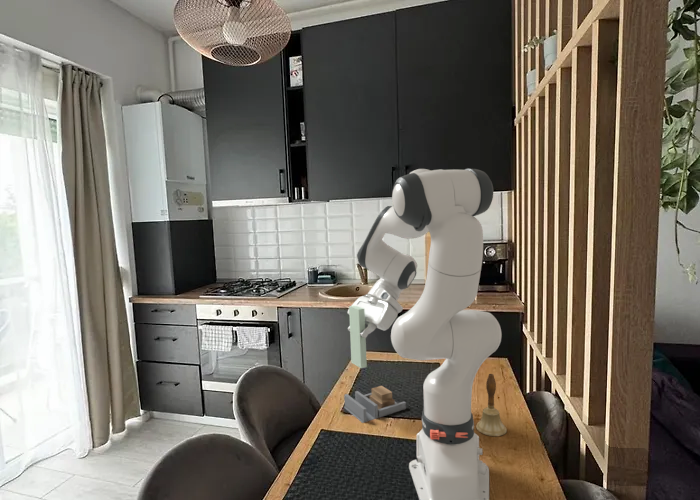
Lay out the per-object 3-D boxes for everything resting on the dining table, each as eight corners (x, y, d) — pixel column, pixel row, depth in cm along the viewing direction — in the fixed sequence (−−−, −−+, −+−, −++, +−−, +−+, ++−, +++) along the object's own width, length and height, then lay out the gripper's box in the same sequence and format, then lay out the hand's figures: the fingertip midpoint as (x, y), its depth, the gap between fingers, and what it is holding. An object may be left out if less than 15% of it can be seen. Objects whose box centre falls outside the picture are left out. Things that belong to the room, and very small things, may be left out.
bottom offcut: (382, 399, 134) (382, 392, 134) (394, 407, 128) (394, 399, 128) (369, 403, 132) (369, 395, 132) (381, 411, 126) (381, 404, 126)
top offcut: (381, 392, 133) (381, 385, 133) (392, 399, 128) (392, 392, 128) (371, 395, 131) (371, 388, 131) (381, 403, 126) (381, 395, 126)
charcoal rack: (384, 397, 138) (384, 383, 137) (406, 411, 127) (405, 396, 127) (343, 409, 130) (342, 395, 130) (362, 426, 120) (361, 409, 119)
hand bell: (479, 419, 121) (479, 367, 120) (509, 425, 117) (508, 372, 115) (472, 432, 114) (472, 377, 113) (503, 439, 110) (503, 382, 108)
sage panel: (356, 361, 128) (354, 305, 127) (366, 367, 123) (364, 308, 121) (351, 362, 127) (349, 306, 126) (361, 368, 122) (358, 309, 120)
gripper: (358, 288, 136) (333, 321, 132) (393, 296, 118) (366, 335, 114) (370, 299, 138) (346, 332, 134) (406, 309, 120) (380, 347, 116)
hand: (355, 333), depth 124 cm, fingers closed on sage panel, 6 cm apart
